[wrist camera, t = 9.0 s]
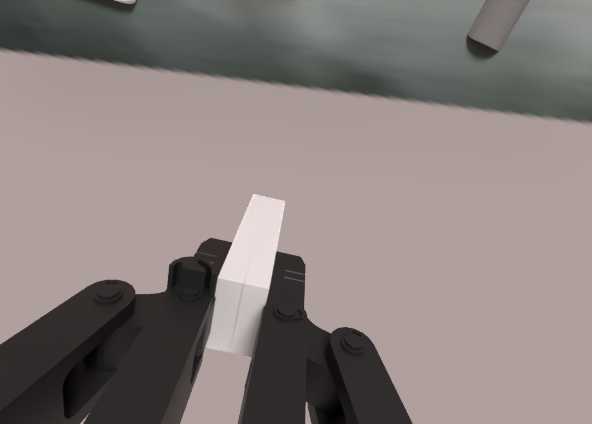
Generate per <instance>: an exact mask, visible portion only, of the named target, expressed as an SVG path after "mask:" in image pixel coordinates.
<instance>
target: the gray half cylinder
mask: <svg viewBox="0 0 592 424" xmlns="http://www.w3.org/2000/svg"><path fill="white" fill-rule="evenodd" d="M529 1H530V0H486V1H485V3H484V5H483V7H482V9H481V10H480V12H479V14H478V16H477V18H476V20H475V21H474V23H473V25H472V27H471V29H470V30H469V32H468V36H469V37H470V38H471V39H473V40H475V41H477V42H479V43H481V44H483V45H485V46H487V47H489V48H491V49H493V50H495V51H500V49H501V47H502V46H503V44H504V42H505V41H506V39H507V37H508V36H509V34H510V32H511V31H512V29H513V27H514V26H515V24H516V22H517V21H518V19H519V17H520V16H521V14H522V12H523V11H524V9H525V7H526V6H527V4H528V2H529Z"/></svg>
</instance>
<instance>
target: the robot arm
mask: <svg viewBox="0 0 592 424" xmlns="http://www.w3.org/2000/svg"><path fill="white" fill-rule="evenodd" d="M284 207H285V201H281V200H277V199H272V198H268V197H264V196H259V195H255V194H253V197H252V199H251V201H250V203H249V206H248V208H247V211H246V213H245V215H244V218H243V220H242V222H241V225H240V227H239V229H238V232H237V234H236V236H235V239H234V241H233V243H232V242H227V241H223V240H218V239H214V238H210V239H208V240H206V241H205V242H203V243H201V245H200V247H199V248H198V250H197V253H195V255H194V257H182V258H179V259H177V260H175V261H173V262H172V263H171V264H170V265H169V274H168V285H167V290H166V291H165V292H162V293H157V294H135V290H134V288H133V286H132V285H130V284H129V283H127V282H124V281H120V280H104V281H99V282H96V283H94V284H92V285H90V286H88V287H86V288H85V289H84V290H82V291H80V292H79V293H77V294H76V295H74V296H73V297H71V298H70V299H68V300H67V301H65V302H64V303H62V304H61V305H59V306H58V307H56V308H55V309H53V310H52V311H50V312H49V313H47V314H46V315H44V316H43V317H41V318H40V319H38V320H37V321H35V322H34V323H32V324H31V325H29V326H28V327H26V328H25V329H23V330H22V331H20V332H19V333H17V334H16V335H14V336H13V337H11V338H10V339H8V340H7V341H5V342H4V343H2V344H1V345H0V424H80V423H81V422H82V420H83V419H84V418H85V417H86V416H87V415H88V414H89V413H90V414H89V415H88V417H87V419H86V420H85V422H84V424H180V422H181V419H182V416H183V413H184V411H185V408H186V405H187V402H188V399H189V397H190V393H191V391H192V388H193V385H194V383H195V380H196V377H197V374H198V371H199V369H200V366H201V363H202V357H203V352H204V348H205V345H206V343H207V346H206V348H211V349H215V350H220V351H225V352H230V353H235V354H240V355H244V356H249V357H252V359H251V364H250V368H249V372H248V376H247V380H246V384H245V391H244V396H243V402H242V406H241V411H240V415H239V420H238V424H305V405H306V402H308V410H309V414H310V419H311V423H312V424H412V422H411V420H410V418H409V416H408V413H407V411H406V409H405V407H404V405H403V403H402V401H401V399H400V397H399V395H398V393H397V391H396V389H395V387H394V385H393V383H392V381H391V379H390V377H389V375H388V372H387V371H386V369H385V366H384V364H383V362H382V360H381V358H380V356H379V354H378V352H377V350H376V348H375V346H374V344H373V343H372V341H371V340H370V339H369V338H368V337H367V336H366V335H365V334H363V333H362V332H360V331H358V330H356V329H353V328H348V327H343V328H338V329H336V330H334V331H333V332H332V334H331V333H329V332H327V331H325V330H322V329H320V328H319V327H317V326H315V325H314V324H313V323H312V322H311V321H310V320H309V319H308V318H307V314H306V311H305V310H304V293H305V292H304V291H305V264H304V262H303V260H302V258H301V257H299V256H295V255H290V254H286V253H281V252H277V251H276V250H277V244H278V239H279V234H280V228H281V223H282V218H283V212H284Z"/></svg>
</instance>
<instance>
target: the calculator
mask: <svg viewBox="0 0 592 424" xmlns="http://www.w3.org/2000/svg"><path fill="white" fill-rule="evenodd" d="M115 1H118V2H122V3H126V4H132V3H135V1H136V0H115Z"/></svg>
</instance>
